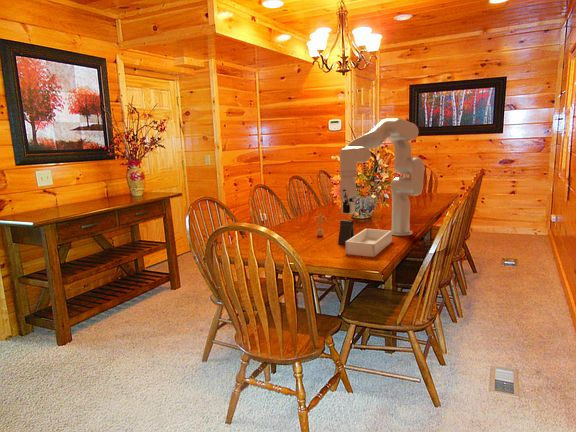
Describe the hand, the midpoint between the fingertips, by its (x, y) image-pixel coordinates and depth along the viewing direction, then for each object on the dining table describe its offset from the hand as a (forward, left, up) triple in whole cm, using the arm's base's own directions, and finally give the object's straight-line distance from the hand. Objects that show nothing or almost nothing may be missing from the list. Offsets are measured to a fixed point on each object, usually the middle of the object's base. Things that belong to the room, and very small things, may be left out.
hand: (348, 211), depth 207 cm
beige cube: (0, 0, -1) cm, 1 cm away
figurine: (-22, -25, -19) cm, 39 cm away
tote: (-7, +8, -19) cm, 22 cm away
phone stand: (-12, -6, -19) cm, 24 cm away
